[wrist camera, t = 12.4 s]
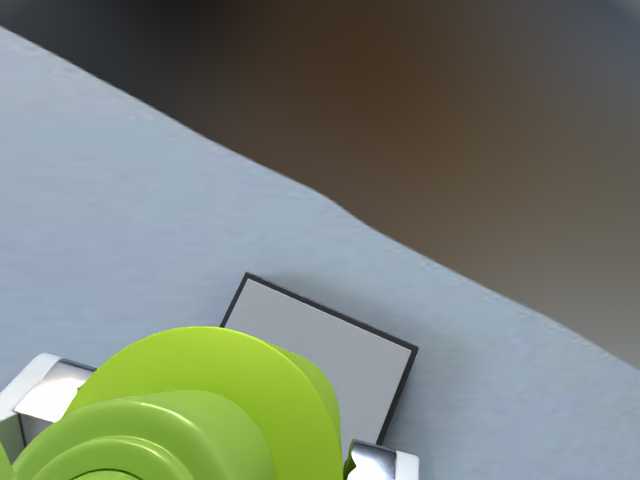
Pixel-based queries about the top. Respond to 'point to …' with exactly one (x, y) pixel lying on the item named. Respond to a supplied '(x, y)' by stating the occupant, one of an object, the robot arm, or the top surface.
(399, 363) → the kitchen scale
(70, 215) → the top surface
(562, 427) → the top surface
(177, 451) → the soap dispenser
